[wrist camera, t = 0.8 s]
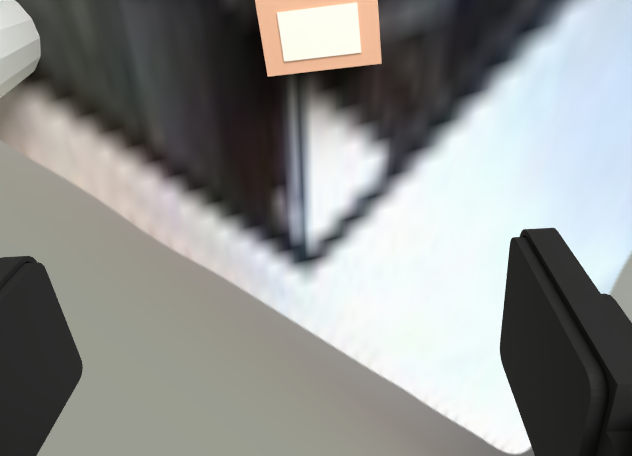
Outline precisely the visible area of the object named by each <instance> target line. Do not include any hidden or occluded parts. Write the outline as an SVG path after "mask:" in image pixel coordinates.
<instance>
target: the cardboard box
mask: <svg viewBox="0 0 632 456" xmlns="http://www.w3.org/2000/svg"><path fill="white" fill-rule="evenodd" d="M255 3H256V9H257V15H258V21H259V27H260V33H261V39H262V45H263V51H264V57H265V63H266V69H267V75H268V77H269V76H278V75H286V74H295V73H304V72H312V71H321V70H330V69H338V68H347V67H356V66H364V65H373V64H382V63H381V47H380V31H379V15H378V0H255Z"/></svg>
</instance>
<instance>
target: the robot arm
mask: <svg viewBox="0 0 632 456" xmlns="http://www.w3.org/2000/svg"><path fill="white" fill-rule="evenodd" d="M500 355H501V361H502V365H503V368H504V370H505V373H506V376H507V379H508V381H509V384H510V387H511V390H512V393H513V395H514V398H515V401H516V404H517V407H518V409H519V412H520V415H521V418H522V421H523V423H524V426H525V429H526V432H527V435H528V437H529V440H530V443H531V446H532V449H533V451H534V454H535V456H632V323H631V321H630V320H629V319H628V317H627V316H626V315H625V313H624V312H623V310H622V309H621V307H620V306H619V305H618V303H617V302H616V301H615V299H613V297H612V296H611V295H608V294H600V292H599V291H598V289H597V288H596V286H595V285H594V283H593V282H592V281H591V279H590V278H589V276H588V275H587V273H586V272H585V270H584V269H583V267H582V266H581V264H580V263H579V262H578V260H577V259H576V257H575V256H574V254H573V253H572V251H571V250H570V248H569V247H568V246H567V244H566V243H565V241H564V240H563V238H562V237H561V235H560V234H559V232H558V231H557V230H556V229H555V228H542V229H524V230H523V231H522V232H521V234H520V237H514V238H512V239H511V242H510V250H509V260H508V270H507V280H506V290H505V300H504V310H503V320H502V330H501V340H500ZM82 368H83V367H82V361H81V358H80V355H79V353H78V350H77V348H76V345H75V342H74V340H73V337H72V335H71V332H70V330H69V327H68V325H67V322H66V320H65V317H64V315H63V312H62V309H61V307H60V304H59V302H58V299H57V297H56V294H55V292H54V289H53V287H52V284H51V281H50V279H49V277H48V274H47V272H46V269H45V267H44V266H43V265H42V264H41V263H39V262H38V263H37V261H36V260H35V259H34V258H33V257H30V256H20V257H3V258H0V456H36V455H37V453H38V452H39V450H40V448H41V446H42V445H43V443H44V441H45V440H46V438H47V436H48V434H49V433H50V431H51V429H52V427H53V426H54V424H55V422H56V420H57V419H58V417H59V415H60V413H61V412H62V410H63V408H64V406H65V405H66V402H67V401H68V399H69V397H70V396H71V394H72V392H73V390H74V389H75V387H76V385H77V383H78V382H79V380H80V378H81V375H82Z"/></svg>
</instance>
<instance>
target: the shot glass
mask: <svg viewBox="0 0 632 456" xmlns="http://www.w3.org/2000/svg"><path fill="white" fill-rule="evenodd" d="M40 57H41V49H40V37H39V34H38V32H37V30H36V27H35V25H34V23H33V20H32V19H31V17H30V16H29V15H28V14H27V13H26V12H25V10H24V9H23V8H22V7H21V6H20V5H19V3H18V2H16V1H14V0H0V98H1V97H3V96H4V95H5V94H6V93H8V92H9V91H10V90H11V89H13V88H14V87H15V86H16V85H18V84H19V83H20V82H21V81H23V80H24V79H25V78H26V77H28V76H29V75H30V74H31V73H32V72H34V71H35V69H36V67H37V64H38V62H39V59H40Z"/></svg>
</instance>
